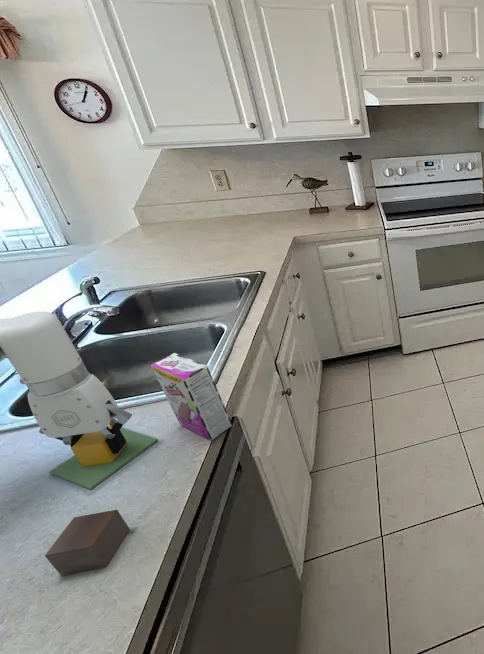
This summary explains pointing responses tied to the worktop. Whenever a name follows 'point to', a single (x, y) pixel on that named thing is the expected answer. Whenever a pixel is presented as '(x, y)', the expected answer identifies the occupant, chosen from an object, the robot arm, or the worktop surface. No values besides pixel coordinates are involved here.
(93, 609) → the worktop surface
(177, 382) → the candy bar box
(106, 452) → the mustard block
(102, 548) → the walnut block
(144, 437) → the green mat
